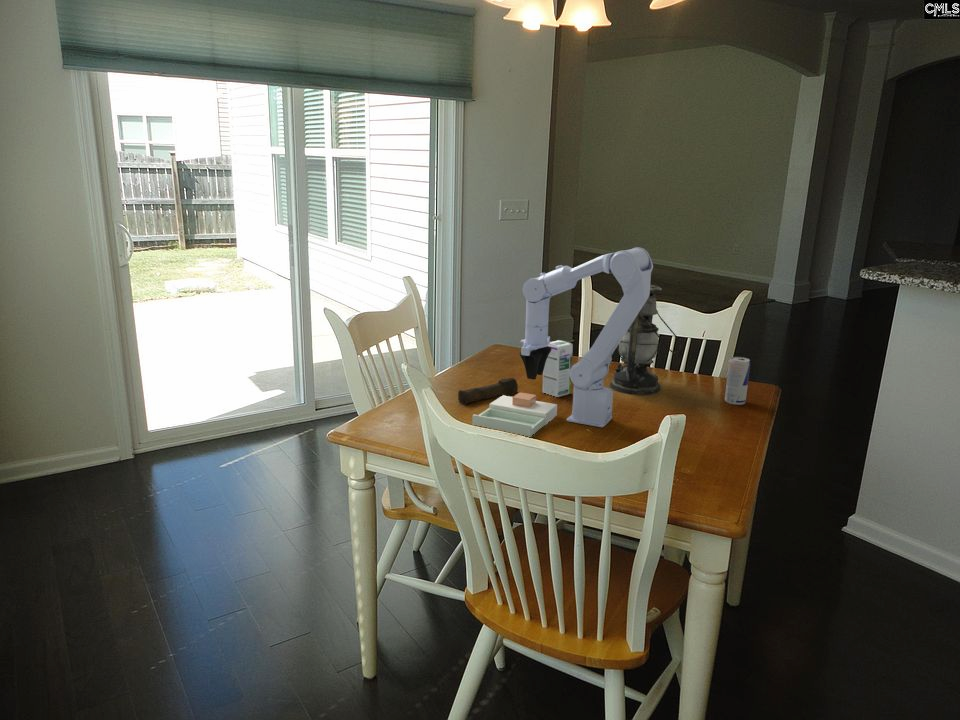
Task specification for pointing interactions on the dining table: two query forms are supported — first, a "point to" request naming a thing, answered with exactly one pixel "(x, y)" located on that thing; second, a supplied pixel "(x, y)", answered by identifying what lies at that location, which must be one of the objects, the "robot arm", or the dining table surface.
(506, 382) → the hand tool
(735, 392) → the energy drink
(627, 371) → the lantern
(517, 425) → the tray
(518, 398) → the terracotta tile
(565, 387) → the syrup box
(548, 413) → the white drawer casing
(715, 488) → the dining table surface
